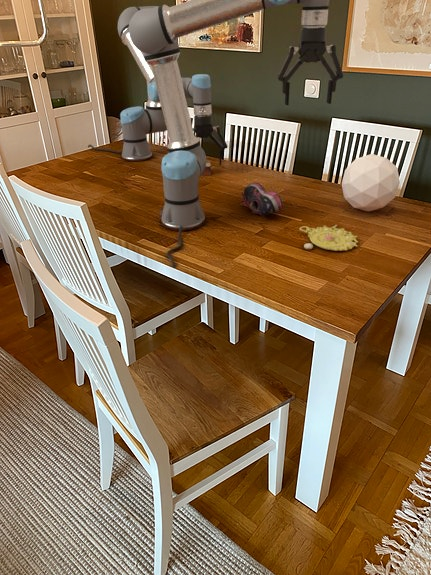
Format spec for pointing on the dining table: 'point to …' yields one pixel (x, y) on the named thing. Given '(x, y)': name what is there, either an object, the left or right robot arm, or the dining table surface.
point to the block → (207, 170)
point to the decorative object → (330, 238)
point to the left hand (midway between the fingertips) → (205, 165)
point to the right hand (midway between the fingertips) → (307, 103)
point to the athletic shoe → (261, 200)
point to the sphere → (370, 182)
